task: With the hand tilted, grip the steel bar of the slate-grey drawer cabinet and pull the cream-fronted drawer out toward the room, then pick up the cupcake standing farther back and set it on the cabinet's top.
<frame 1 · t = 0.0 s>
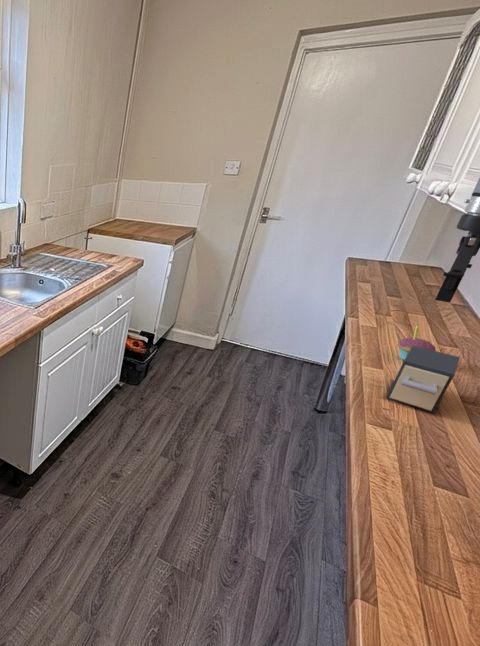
hand: (445, 295, 110), 27 cm above the worktop, tool pointing down, fingers open, 13 cm apart
cupcake: (409, 359, 134), on the worktop
cabinet: (413, 395, 114), on the worktop
drawer: (420, 382, 109), point 6 cm above the worktop, slide at 0.0 cm, touching cabinet
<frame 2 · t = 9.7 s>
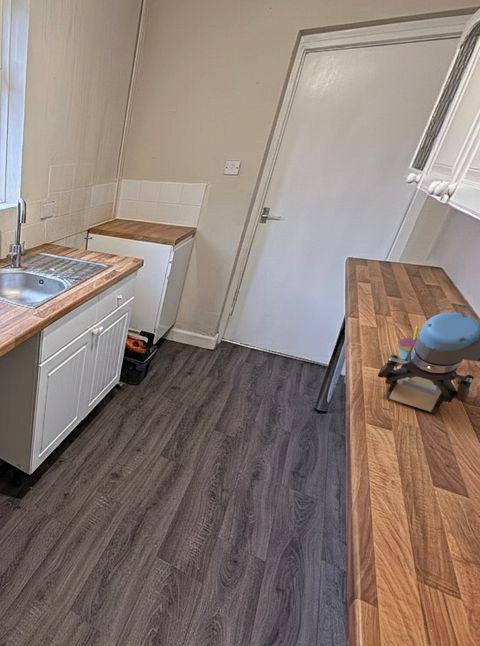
hand: (414, 394, 107), 4 cm above the worktop, tool tilted 45°, fingers open, 8 cm apart
drawer: (419, 383, 109), point 6 cm above the worktop, slide at 0.7 cm, touching gripper
everything else where it was.
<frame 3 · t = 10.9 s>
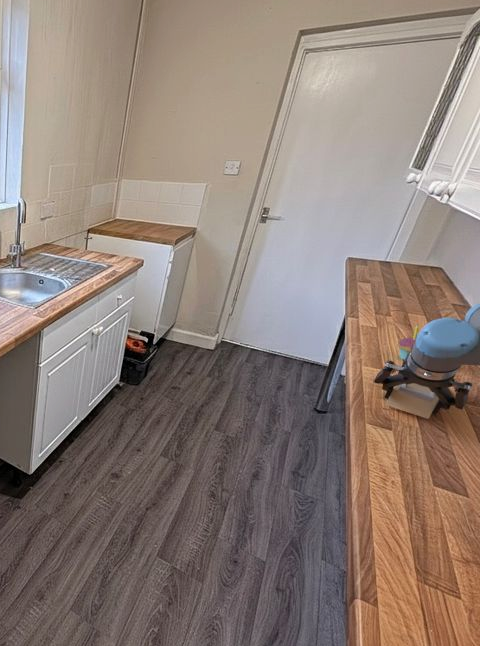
hand: (411, 401, 104), 4 cm above the worktop, tool tilted 45°, fingers closed on drawer, 8 cm apart
drawer: (417, 389, 106), point 6 cm above the worktop, slide at 5.5 cm, touching gripper
everything else where it was.
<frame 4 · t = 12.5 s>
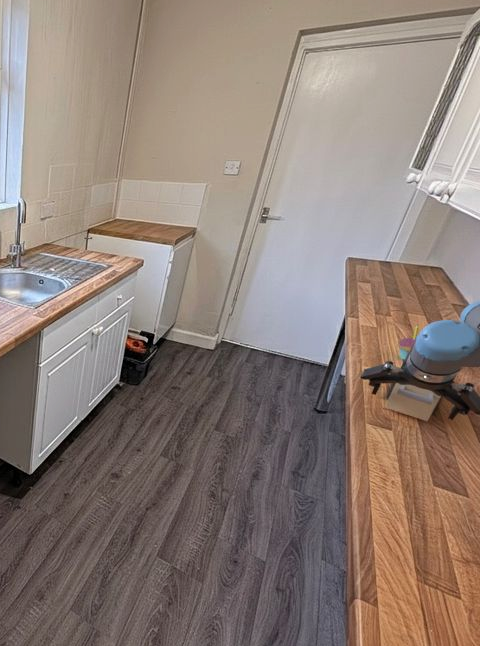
hand: (412, 401, 102), 5 cm above the worktop, tool tilted 45°, fingers open, 13 cm apart
drawer: (416, 391, 105), point 6 cm above the worktop, slide at 7.0 cm
everything else where it was.
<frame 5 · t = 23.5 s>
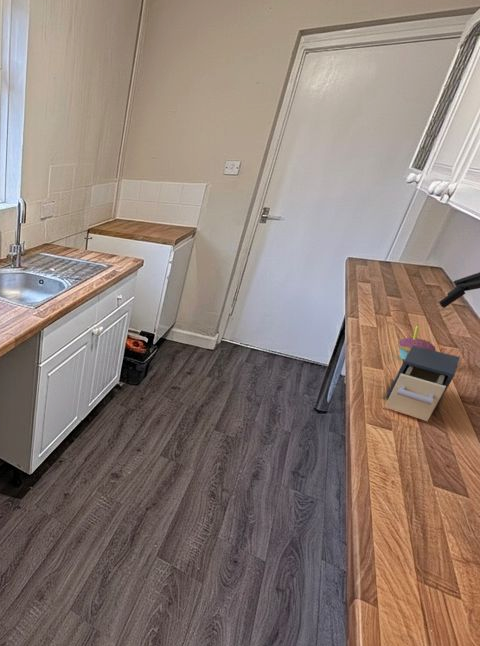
hand: (465, 314, 125), 17 cm above the worktop, tool tilted 40°, fingers open, 13 cm apart
nothing on the worktop moved.
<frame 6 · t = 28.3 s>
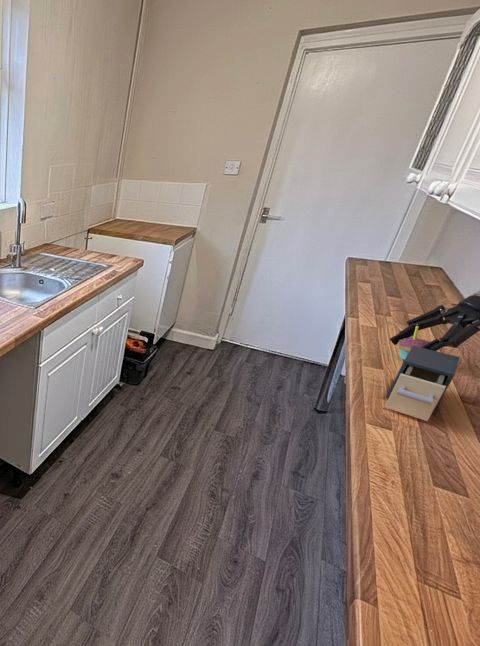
hand: (404, 348, 132), 4 cm above the worktop, tool tilted 45°, fingers closed on cupcake, 8 cm apart
cupcake: (409, 359, 134), on the worktop, touching gripper
everything else where it was.
when the fingers open (15 cm above the worktop, at t = 39.5 s): cupcake stays where it is, resting on cabinet.
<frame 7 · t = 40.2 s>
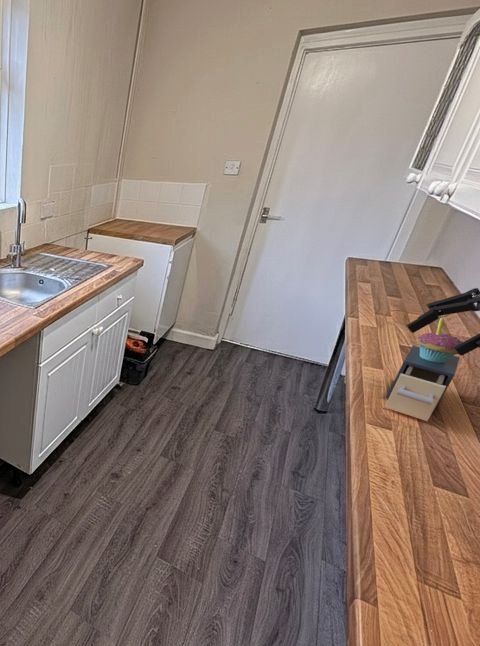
hand: (432, 339, 107), 17 cm above the worktop, tool tilted 45°, fingers open, 13 cm apart
cupcake: (431, 359, 109), point 11 cm above the worktop, touching cabinet
everything else where it was.
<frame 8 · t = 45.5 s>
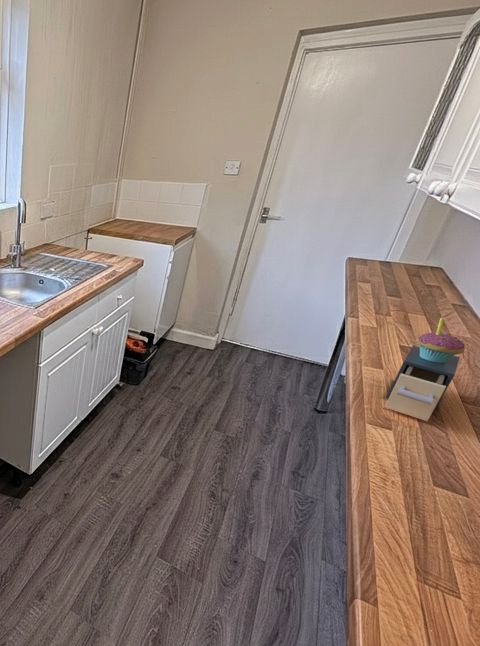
nothing on the worktop moved.
at the end: drawer slide at 7.0 cm; cupcake inside the target area on the cabinet (0.1 cm from its centre), point 11.4 cm above the cabinet's base; cupcake tilted 0° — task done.
